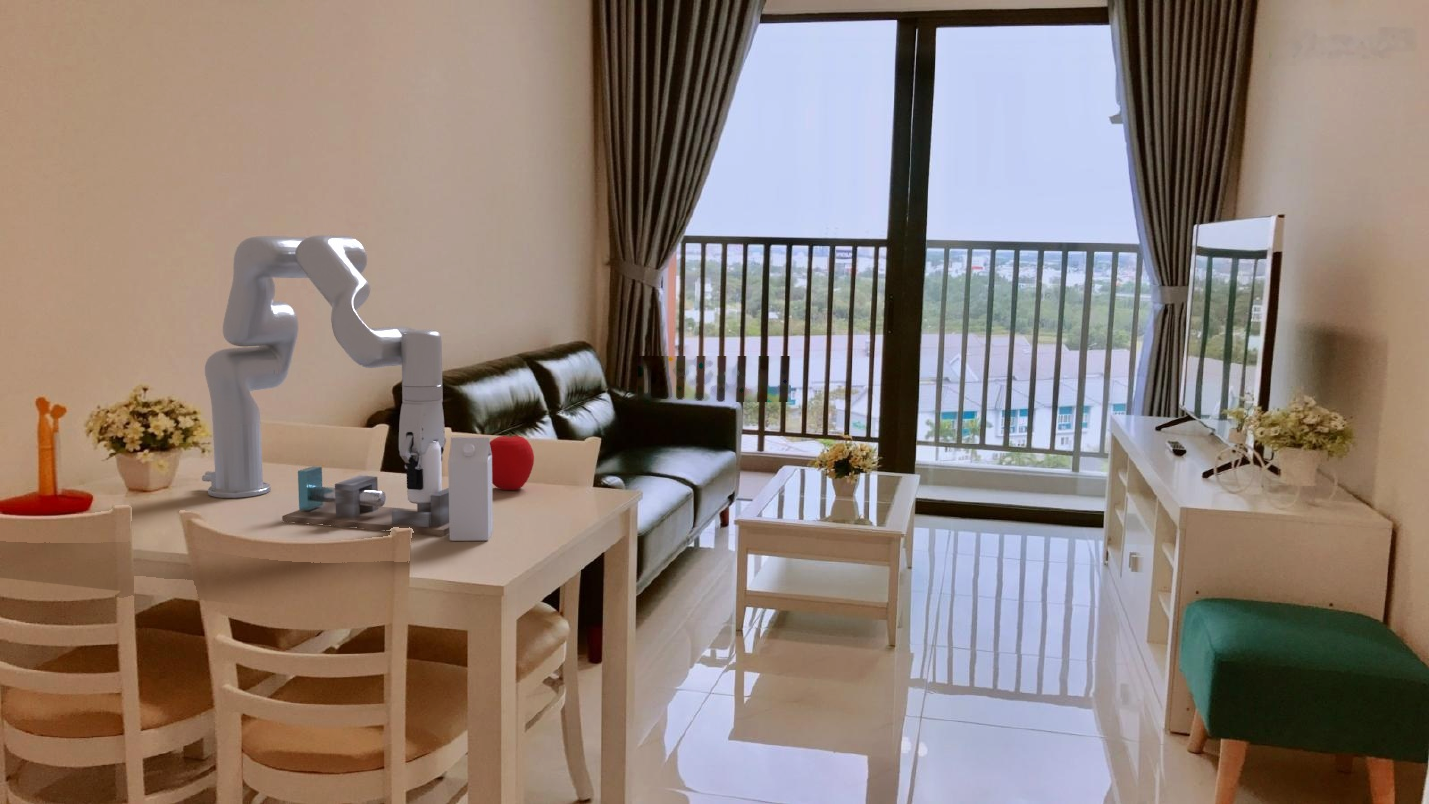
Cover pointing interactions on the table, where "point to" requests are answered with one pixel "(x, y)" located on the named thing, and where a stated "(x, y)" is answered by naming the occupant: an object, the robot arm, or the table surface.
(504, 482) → the tomato
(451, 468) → the milk carton
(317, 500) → the shaft
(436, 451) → the can
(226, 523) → the table surface
